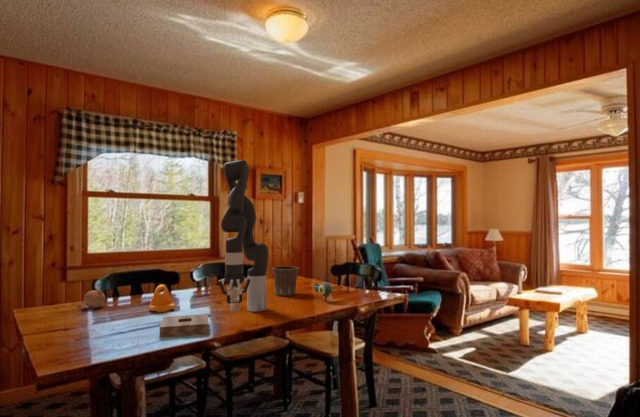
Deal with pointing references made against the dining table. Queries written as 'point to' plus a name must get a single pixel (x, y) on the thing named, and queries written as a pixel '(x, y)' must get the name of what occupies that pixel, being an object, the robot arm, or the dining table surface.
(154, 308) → the bracket
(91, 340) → the dining table surface
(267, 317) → the dining table surface
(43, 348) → the dining table surface
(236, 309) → the peg
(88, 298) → the onion
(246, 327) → the dining table surface
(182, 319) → the board
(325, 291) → the decorative fish
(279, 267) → the plant pot
